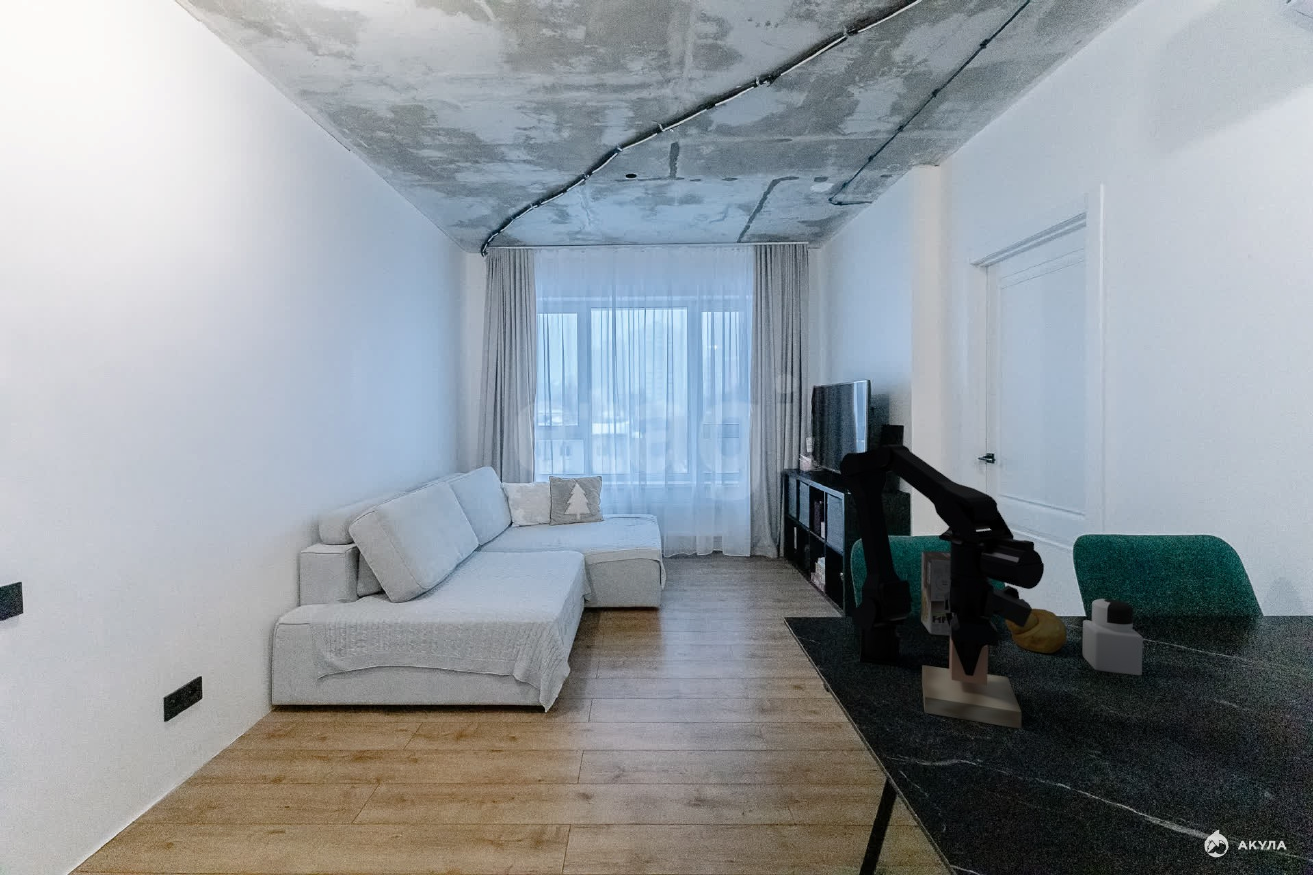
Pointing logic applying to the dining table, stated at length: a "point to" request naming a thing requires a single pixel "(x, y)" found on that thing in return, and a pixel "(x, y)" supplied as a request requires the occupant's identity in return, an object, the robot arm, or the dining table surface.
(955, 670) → the terracotta block
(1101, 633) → the medicine bottle
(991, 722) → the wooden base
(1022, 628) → the bread roll
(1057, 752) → the dining table surface
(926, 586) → the coffee box
